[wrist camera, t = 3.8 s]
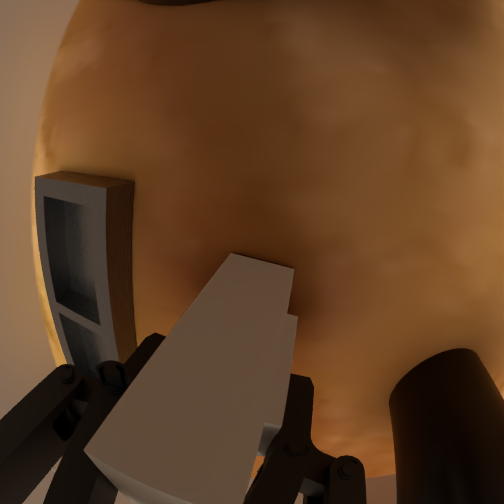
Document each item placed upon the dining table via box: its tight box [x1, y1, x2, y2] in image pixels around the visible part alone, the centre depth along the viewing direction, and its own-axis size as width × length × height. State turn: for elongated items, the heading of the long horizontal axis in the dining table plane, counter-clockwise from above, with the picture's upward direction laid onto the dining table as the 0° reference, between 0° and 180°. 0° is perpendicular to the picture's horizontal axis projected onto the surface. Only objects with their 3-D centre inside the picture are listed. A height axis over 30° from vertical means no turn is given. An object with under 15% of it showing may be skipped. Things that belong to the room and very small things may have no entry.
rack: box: [35, 171, 137, 472], centre depth 15 cm, size 30×8×13 cm, turn 169°
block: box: [84, 253, 295, 504], centre depth 10 cm, size 6×4×12 cm, turn 170°
